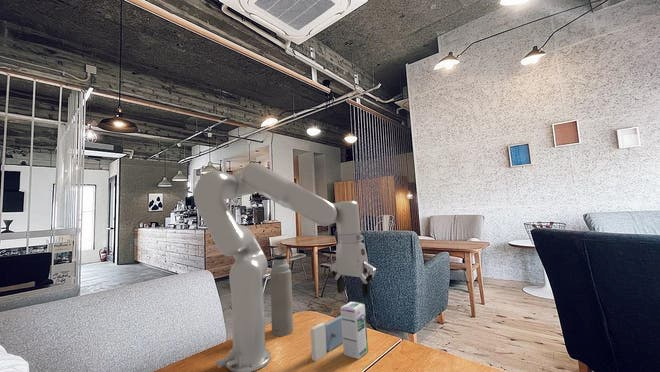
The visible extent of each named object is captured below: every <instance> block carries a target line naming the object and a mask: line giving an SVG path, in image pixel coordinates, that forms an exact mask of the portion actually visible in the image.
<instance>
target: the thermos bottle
mask: <svg viewBox="0 0 660 372" xmlns="http://www.w3.org/2000/svg"><path fill="white" fill-rule="evenodd" d="M287 257H288V256H287V255H277V256H274V257H273V264H272V266H271V271H270V272H269V273H270V274H269V275H270V277H269V278H270V279H269V280H270V282H269V283H270V311H271V312H270V313H271V314H270V315H271V334H272V335H273V336H275V337H284V336H288V335H291V334H292V333H293V331H294V318H293V317H294V315H293V312H294V310H293V287H292V284H293V283H292V269H290V264H289V263H288V262H287Z"/></svg>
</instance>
